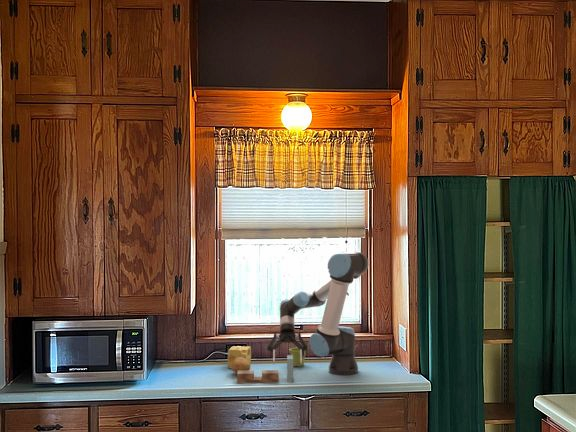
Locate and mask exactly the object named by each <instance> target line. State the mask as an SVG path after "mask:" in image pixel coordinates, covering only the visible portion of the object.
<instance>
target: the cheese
mask: <svg viewBox="0 0 576 432" xmlns="http://www.w3.org/2000/svg"><path fill="white" fill-rule="evenodd" d="M237 357H243V358H245V359H246V360H248V361H249V362H250V364H251V362H252V361H251V360H252V348H251V346H250V345H249V346H235V345H233V346H231V347H230V348H229V349H228V350H227V367H228V369H232V364H233V361H234V360H235V359H236V358H237Z"/></svg>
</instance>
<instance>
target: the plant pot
mask: <svg viewBox="0 0 576 432" xmlns="http://www.w3.org/2000/svg"><path fill="white" fill-rule="evenodd" d="M288 350H289V351H290V352H289V353H290V355H293V367H298V368H299V367H303V366H304V365H305V360H306V359H305V357H306V352H307V351H304V357H302V363H300V349H299V348H298V347H292V348H289V349H288Z"/></svg>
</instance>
